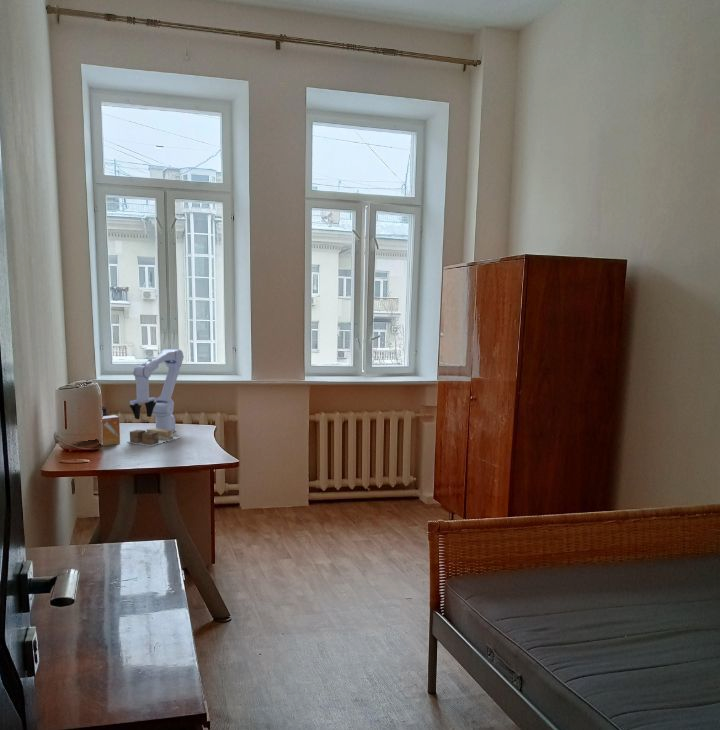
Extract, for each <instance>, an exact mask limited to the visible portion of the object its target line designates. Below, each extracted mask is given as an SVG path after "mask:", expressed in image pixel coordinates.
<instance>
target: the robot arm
mask: <svg viewBox="0 0 720 730" xmlns="http://www.w3.org/2000/svg"><path fill="white" fill-rule="evenodd" d="M184 358H185V356H184V352H183V350H181V349H170V348H169V349H168V348H164V349H163V350H161V352H160V354H158V355H157V356H156V357H154V358H148V359H147V360H146V361H145V362H143V363H142V364H141V365H137V366H136V367H134V369H133V372H132V373H133V376H134V380H135V382H136V385H135V386H136V399H133V400H129V408H130V409H131V411H132V412H133V416H134V419H135V420H140V418H141V417H140V413H141V408H142V405H141V404H144V405H145V408H146V409H145V410H146V417H147V418H151V417H152V415H154V416H155V428H158V429H166V430H173V432H176V430H177V429H176V418H175V415H174V414H173V413H174V410H175V409H174V406H175V401H174V400H173V399H172V396H173V392H174V390H175V386H176V383H177V380H178V377H179V373H180V369H181V367H182V365H183V361H184ZM162 363H164V364H165V366H166V367H167V368H168V371H167V374H166V377H165V380H164V383H163V386H162V390H161V393H160V395H159V396H158V397H154V396H153V397H152V396H151V397H150V377H151V375H152V373H153V372H154V371H156V370H157V369H158V368H159V365H161V364H162Z"/></svg>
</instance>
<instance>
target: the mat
mask: <svg viewBox="0 0 720 730" xmlns="http://www.w3.org/2000/svg"><path fill="white" fill-rule="evenodd" d="M177 437H178V438H179V437H180V436H173V438H172V439H169V440H172V441H174V440H173V439H175V440H177V439H176V438H177ZM179 439H180V438H179ZM169 440H164V439H159V442H158V443H155V444H151V445H150V444H143V442H140V443H135V442H130V440H129V441H127V442H126V443H127V444H132V443H133V444H135V445H140V444H141V445H142V446H148V445H150V446H149V447H154V446H153V445H155V446H158V445H161V444H164V443H163V442H165V443H167V442H166V441H168V442H170V441H169ZM160 443H161V444H160ZM157 444H158V445H157ZM141 445H140V446H141Z"/></svg>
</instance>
